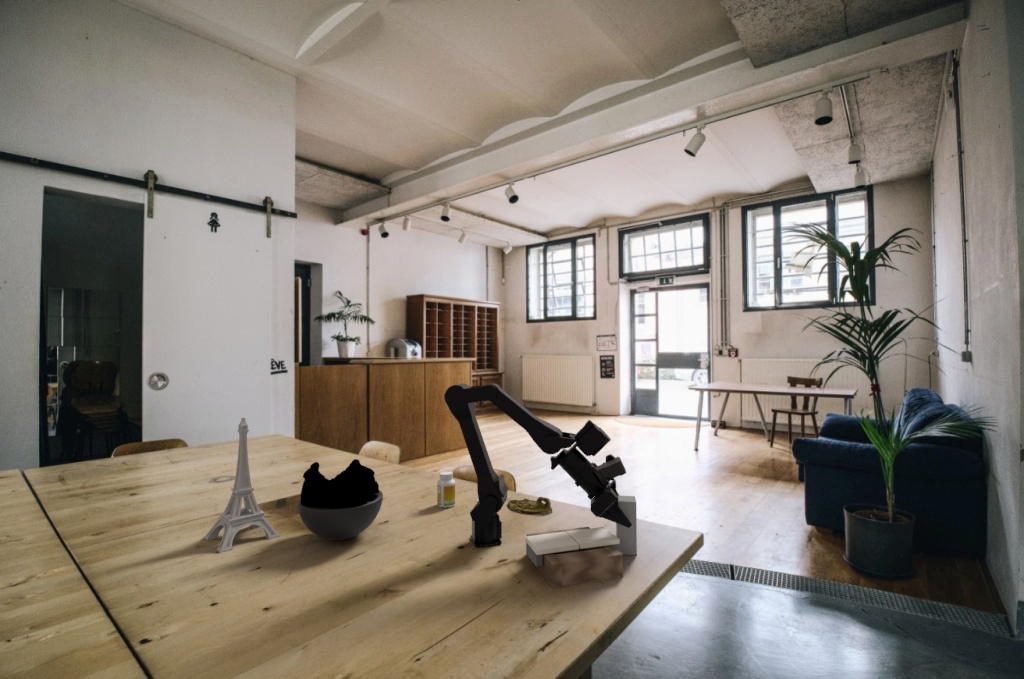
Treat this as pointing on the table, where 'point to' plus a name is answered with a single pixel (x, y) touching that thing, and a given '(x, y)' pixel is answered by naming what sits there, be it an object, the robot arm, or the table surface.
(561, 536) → the near trapdoor leaf
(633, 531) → the grey stone block
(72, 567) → the table surface
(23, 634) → the table surface
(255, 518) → the eiffel tower
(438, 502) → the supplement bottle
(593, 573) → the box
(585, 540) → the panel
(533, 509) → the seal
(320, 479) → the coal bowl
